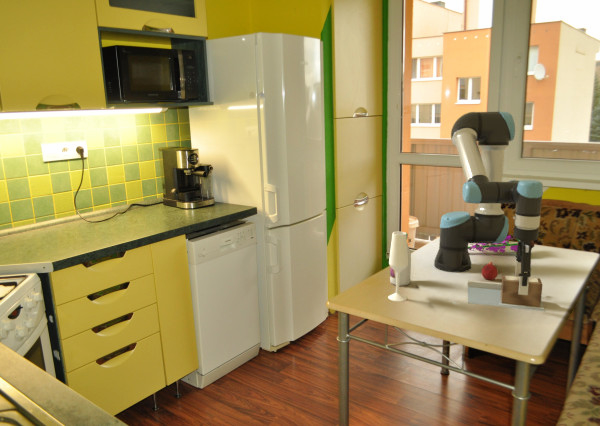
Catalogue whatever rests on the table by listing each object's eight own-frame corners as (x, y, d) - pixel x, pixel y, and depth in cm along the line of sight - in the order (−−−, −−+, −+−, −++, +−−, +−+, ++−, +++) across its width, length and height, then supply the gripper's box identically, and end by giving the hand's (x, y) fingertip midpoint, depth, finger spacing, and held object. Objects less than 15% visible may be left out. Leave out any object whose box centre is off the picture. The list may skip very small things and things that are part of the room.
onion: (489, 285, 190) (490, 265, 188) (477, 280, 195) (479, 261, 193) (500, 282, 192) (501, 262, 191) (488, 278, 197) (489, 258, 196)
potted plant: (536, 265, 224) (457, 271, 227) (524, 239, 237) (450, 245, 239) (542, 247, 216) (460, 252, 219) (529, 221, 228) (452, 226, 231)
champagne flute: (400, 293, 182) (403, 230, 177) (410, 299, 176) (412, 234, 171) (384, 295, 180) (386, 231, 175) (393, 302, 174) (395, 236, 169)
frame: (501, 303, 169) (503, 280, 168) (500, 296, 175) (502, 274, 173) (540, 307, 166) (542, 283, 164) (537, 300, 171) (539, 277, 169)
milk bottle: (412, 280, 195) (413, 231, 191) (407, 287, 188) (409, 236, 184) (392, 278, 198) (394, 229, 194) (387, 284, 192) (389, 234, 187)
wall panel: (467, 306, 170) (468, 297, 169) (467, 288, 187) (468, 280, 186) (544, 314, 163) (545, 305, 162) (537, 294, 179) (538, 286, 179)
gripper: (511, 217, 177) (506, 273, 182) (517, 235, 154) (512, 299, 159) (534, 218, 175) (528, 275, 180) (544, 237, 152) (537, 302, 157)
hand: (520, 287), depth 169 cm, fingers open, 13 cm apart
